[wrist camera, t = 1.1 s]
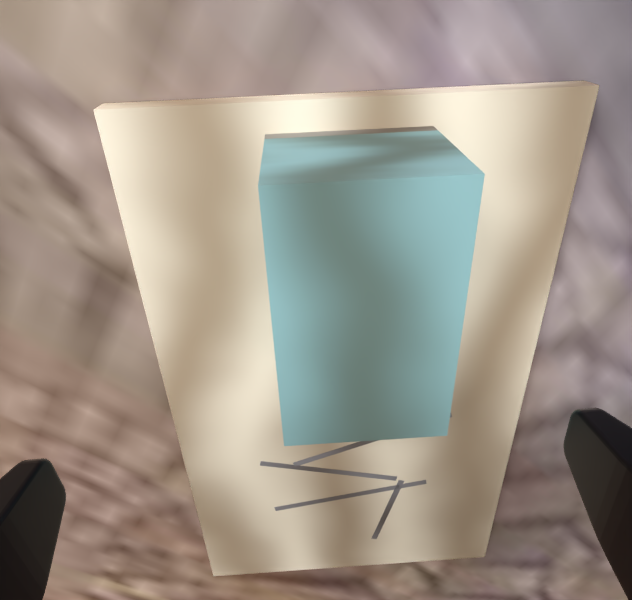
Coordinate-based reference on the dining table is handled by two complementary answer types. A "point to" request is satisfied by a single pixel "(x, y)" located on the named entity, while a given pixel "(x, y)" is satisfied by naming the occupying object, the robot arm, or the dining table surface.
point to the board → (256, 326)
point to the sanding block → (367, 279)
